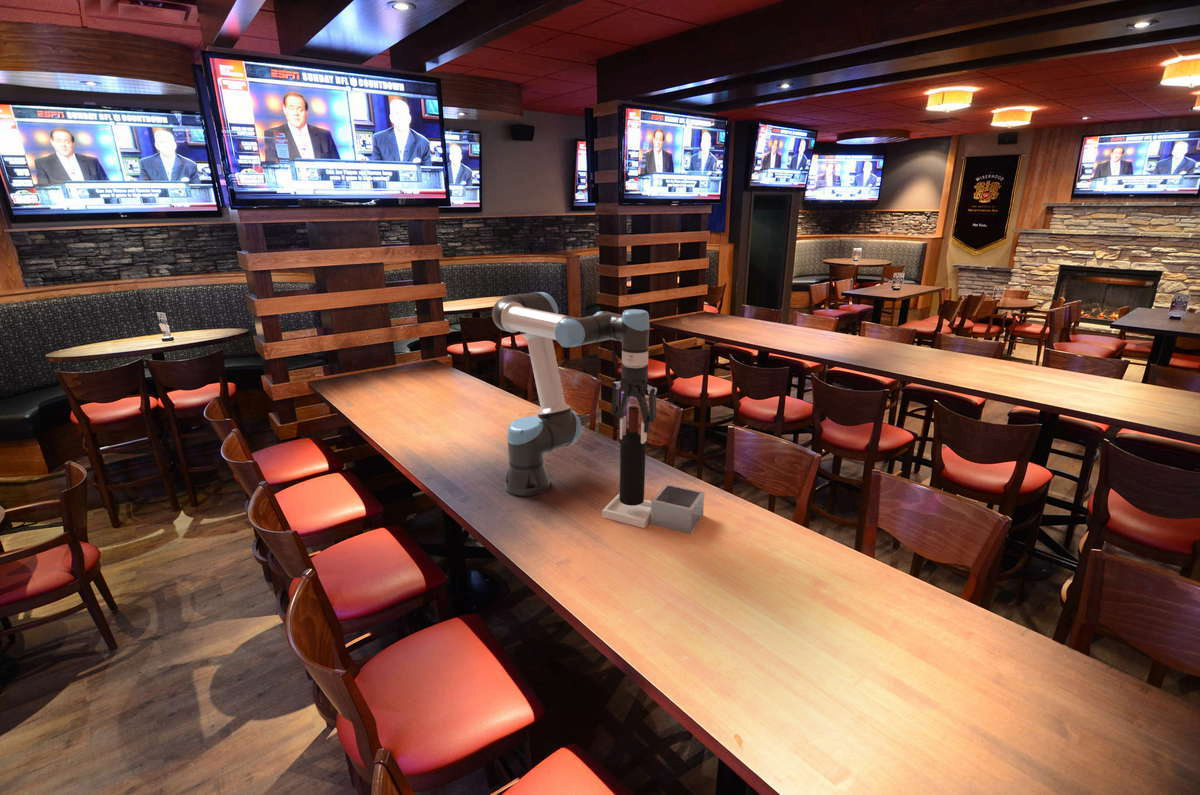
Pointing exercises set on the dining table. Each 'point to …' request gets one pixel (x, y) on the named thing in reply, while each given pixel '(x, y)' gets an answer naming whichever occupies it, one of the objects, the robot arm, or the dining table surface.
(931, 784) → the dining table surface
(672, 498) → the holder
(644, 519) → the tray
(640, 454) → the wine bottle
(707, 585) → the dining table surface
